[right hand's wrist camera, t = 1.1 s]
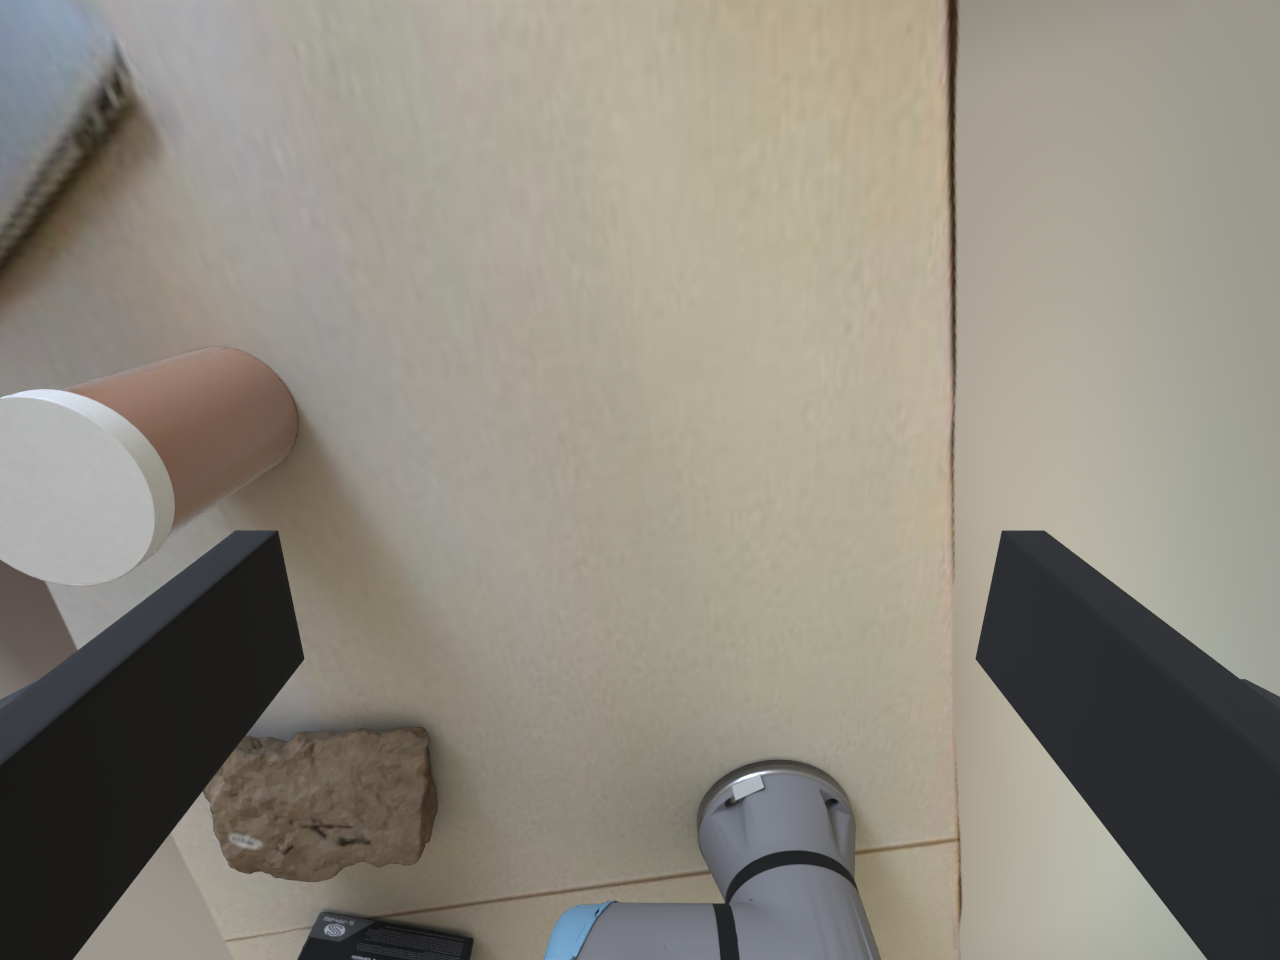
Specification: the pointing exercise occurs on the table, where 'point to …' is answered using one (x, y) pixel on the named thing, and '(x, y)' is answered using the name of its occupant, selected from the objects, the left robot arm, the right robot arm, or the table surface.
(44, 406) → the lid
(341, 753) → the stone
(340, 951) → the graphics card box
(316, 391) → the table surface
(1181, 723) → the right robot arm
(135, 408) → the jar
